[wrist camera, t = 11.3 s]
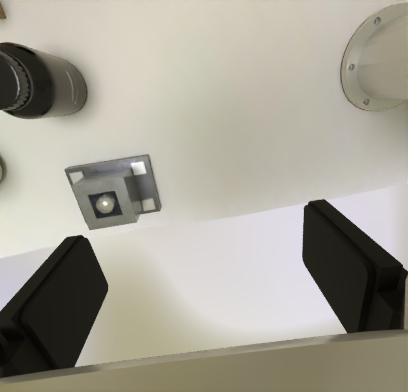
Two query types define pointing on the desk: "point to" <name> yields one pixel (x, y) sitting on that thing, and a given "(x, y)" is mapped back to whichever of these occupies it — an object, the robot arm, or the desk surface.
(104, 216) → the block
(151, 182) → the stand
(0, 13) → the organizer frame
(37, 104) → the supplement bottle
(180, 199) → the desk surface
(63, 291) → the robot arm
